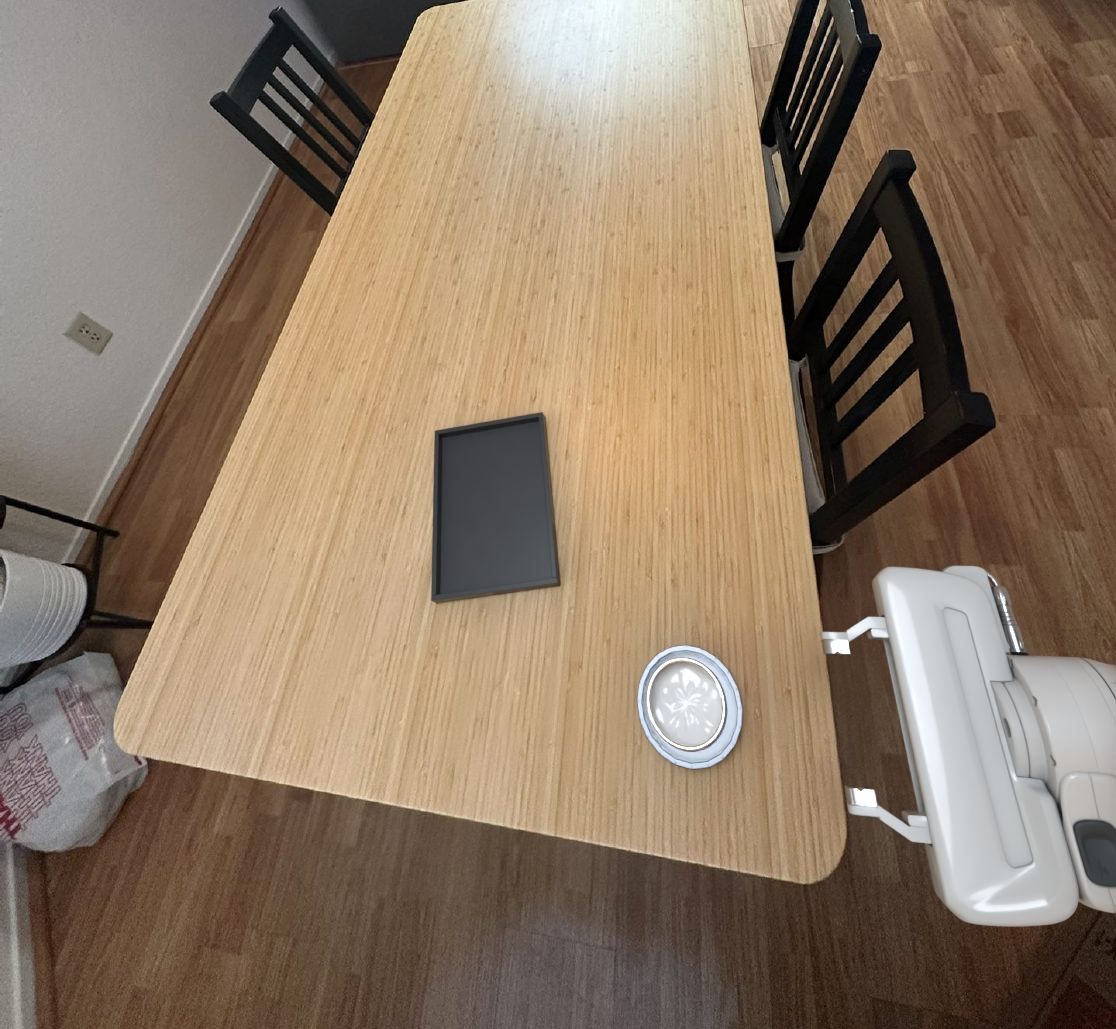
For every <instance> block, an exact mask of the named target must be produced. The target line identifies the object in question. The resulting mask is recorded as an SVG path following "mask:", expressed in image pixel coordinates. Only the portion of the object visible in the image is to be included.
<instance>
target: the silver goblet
mask: <svg viewBox="0 0 1116 1029" xmlns="http://www.w3.org/2000/svg"><path fill="white" fill-rule="evenodd" d="M646 703H647V710H648V714H649V718H650V720H651V723H652V725H653V727H654V728H655V730H656V731H657V733H658V734H659V735H660V737H661V738H662V739H663V740H664V741H665V742H667V743H668V744H669V745H671V746H672V747H674V748H676V749H678V750H681V751H685V752H698V751H702V750H704V749H707V748H708V747H710V746H711V745H713V744H714V743H715V742H716V741H717V740H718V739H719V737H720V736H721V734H722V732H723V730H724V728H725V724H726V720H727V700H726V695H725V692H724V689H723V687H722V685H721V683H720V681H719V679H718V678H717V676H716V675H715V674H714V673H713V671H712V670H711V669H710V668H708V667H707V666H706V665H705V664H703V663H701V662H700V661H697V660H695V659H692V658H687V657H677V658H673V659H670V660H667V661H666V662H664V663H663V664H661V665H660V666H659V667H658V668H657V669H656V670H655V672H654V673H653V675H652V677H651V679H650V681H649V684H648V688H647V695H646Z"/></svg>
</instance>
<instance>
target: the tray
mask: <svg viewBox="0 0 1116 1029" xmlns="http://www.w3.org/2000/svg"><path fill="white" fill-rule="evenodd" d="M546 420H547V419H546V416H545V414H544V412H543V411H541V412H535V413H528V414H523V415H518V416H517V415H516V416H512V417H507V418H499V419H494V420H489V421H482V422H477V423H471V424H470V423H469V424H465V425H459V426H453V427H448V428H442V429H441V428H440V429H436V430H434V437H433V438H434V440H433V441H434V442H433V443H434V444H433V445H434V446H433V492H432V537H431V538H432V540H431V541H432V542H431V544H432V545H431V586H430V588H431V591H430V592H431V593H430V601H431V602H432V603H436V604H442V603H448V602H455V601H462V600H470V599H477V598H485V597H491V596H497V595H504V594H512V593H519V592H526V591H532V590H533V591H534V590H540V589H546V588H547V589H549V588H554V587H561V575H560V564H559V552H558V543H557V542H558V541H557V533H556V532H557V531H556V520H555V509H554V497H553V487H552V475H551V474H552V473H551V465H550V464H551V463H550V453H549V452H550V451H549V442H548V441H549V440H548V432H547V430H548V429H547V421H546Z"/></svg>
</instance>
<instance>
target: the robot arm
mask: <svg viewBox="0 0 1116 1029" xmlns="http://www.w3.org/2000/svg"><path fill="white" fill-rule="evenodd" d="M990 582H991V583H990ZM991 584H992V585H993V586H991ZM871 587H872V592H873V593H872V594H873V597H874V601H875V607H876V612H877V616H867V617H865V618H863V619H862V620H861V621H859V622H857V623H856V624H854V625H853V626H851V627H850V628H848V629H847V630H845V631H821V632H820V633H819V634H820V641H821V646H822V652H823V655H824V656H825V655H826V656H833V655H834V654H836V655H837V656H850V655H851V650H850V644H849V643H850V642H851V641H853V640H854V639H856V638H858V637H859V636H860V635H862V634H863V633H865V632H866V636H867V639H868V640H876V641H877V640H878V641H883V646H884V651H885V655H886V660H887V661H886V662H887V666H888V670H889V674H890V675H889V676H890V681H891V685H892V691H893V695H894V699H895V704H896V710H897V715H898V720H899V723H900V724H899V725H900V729H901V733H902V734H901V735H902V739H903V744H904V748H905V753H906V758H907V759H906V760H907V764H908V768H909V773H910V778H911V783H912V789H913V792H914V797H915V803H916V807H917V810H915V811H914V810H902V811H901V818H902V820H901V819H900V818H899V817H897V816H896V815H894V814H893V813H891V812H890V811H888V810H887V809H885V808H884V807H883V806H881V805H880V804H878V801H877V795H876V791H875V789H874V788H872V787H871V786H866V785H865V786H864V785H860V786H859V787H856V786H855V785H853V784H845V785H844V793H845V799H846V805H847V811H848V813H849V814H850V815H854V816H863V817H870V818H871V817H873V818H878V819H879V820H880V821H881V822H882V823H884V824H885V825H887V826H888V827H890V828H891V829H893V830H894V831H896V832H897V833H898V834H900V835H901V836H903V837H904V838H905V839H907V840H908V841H910V842H911V843H918V844H919V843H920V844H924V846H925V852H926V857H927V861H928V866H929V871H930V872H929V873H930V876H931V881H932V885H933V886H932V887H933V890H934V893H935V894H936V896H937V898H938V899H939V900H940V901H941V902H942V903H943V905H944V906H945V907H946V908H947V909H948V911H950V913H952V914H953V915H954V916H956V917H957V918H958V919H959V920H961V921H963V922H965V923H968V924H973V925H979V926H990V927H1011V928H1012V927H1014V928H1015V927H1016V928H1017V927H1038V926H1040V927H1041V926H1050V925H1055V924H1056V925H1057V924H1059V923H1062V922H1064V921H1067V920H1068V919H1070V917H1072V916H1073V914H1074V913H1075V912H1076V910H1077V907H1078V905H1079V903H1080V904H1082V905H1084V906H1086V907H1088V908H1091V909H1093V910H1096V911H1099V912H1100V911H1101V912H1104V913H1111V914H1116V664H1111V663H1105V662H1101V661H1098V660H1095V659H1092V658H1088V657H1081V656H1058V655H1056V656H1055V655H1035V654H1034V655H1033V654H1032V655H1030V653H1028V652H1027V648H1026V644H1025V642H1024V639H1023V635H1022V633H1021V629H1020V627H1019V624H1018V623H1017V621H1016V618H1015V615H1014V612H1013V608H1012V607H1013V606H1012V600H1011V597H1010V594H1009V592H1008V590H1007V588H1006V586H1003V585H1001V584H1000V583H999V581H998V580H997V578H996V577H995V576H994V574H992V573H991V572H989V571H988V570H987V569H985V568H983V567H980V566H978V565H973V564H952V565H948V566H947V565H946V566H945V567H943V568H942V569H941V570H940V571H939V570H933V569H926V568H919V567H909V566H907V567H906V566H887V567H883V568H882V569H881V570H879V571H878V572H877V573H876V575H875V576H874V578H873V579H872V581H871Z"/></svg>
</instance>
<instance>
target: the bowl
mask: <svg viewBox="0 0 1116 1029" xmlns="http://www.w3.org/2000/svg"><path fill="white" fill-rule="evenodd" d="M677 657H687V658H692V659H695V660H697V661H700V662H701V663H703V664H705V665H706V666H707V667H708V668H710V669H711V670H712V671H713V673H714V674H715V675H716V676H717V678H718V679H719V681H720V683H721V685H722V687H723V689H724V692H725V695H726V700H727V720H726V724H725V728H724V730H723V732H722V734H721V736H720V737H719V739H718V740H717V741H716V742H715V743H714V744H713V745H711V746H710V747H708V748H707V749H704V750H702V751H698V752H685V751H681V750H678V749H676V748H674V747H672V746H671V745H669V744H668V743H667V742H665V741H664V740H663V739H662V738H661V737H660V735H659V734H658V733H657V731H656V730H655V728H654V727H653V725H652V723H651V720H650V718H649V714H648V710H647V703H646V695H647V688H648V684H649V681H650V679H651V677H652V675H653V673H654V672H655V670H656V669H657V668H658V667H659V666H660V665H661V664H663V663H664V662H666V661H667V660H670V659H673V658H677ZM637 687H638V688H637V696H636V705H637V712H638V720H639V723H640V725H641V727H642V730H643V732H644V735H645V738H646V739H647V740H648V742H649V743H650V744H651V745H652V746H653V748H654V750H656V752H657V754H659V755H660V756H661V757H662V758H664V759H666V761H669V762H670V763H671V764H673V765H675V766H678V767H680V768H684V769H688V770H692V771H693V770H704V769H709V768H712V767H713V766H715V765H717V764H719V763H720V762H722V761H724V760H725V759H726V758H727V756H728V755H729V754H730V753H731V751H733V749H734V748H735V747H736V745H737V742H738V740H739V737H740V734H741V731H742V728H743V710H744V708H743V704H742V699H741V694H740V690H739V687H738V685H737V682H736V681H735V679H734V677H733V675H732V674H731V672H730V669H728V668H727V666H726V665H724V663H723V662H722V661H721V660H720V659H719V658H718V657H717V656H716V655H714V654H712V653H711V652H709V651H707V650H706V649H705V648H704V649H703V648H702V647H698V646H693V645H689V644H681V645H673V646H670V647H668V648H666V649H663V650H661V651H660V652H658V653H656V654H655V655H654V657H653V658H652V659H651V660H650V661H649V662H648V663H647V664H646V665H645V668H644V670H643V672H642V675H641V676H640V679H639V681H638V686H637Z"/></svg>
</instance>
